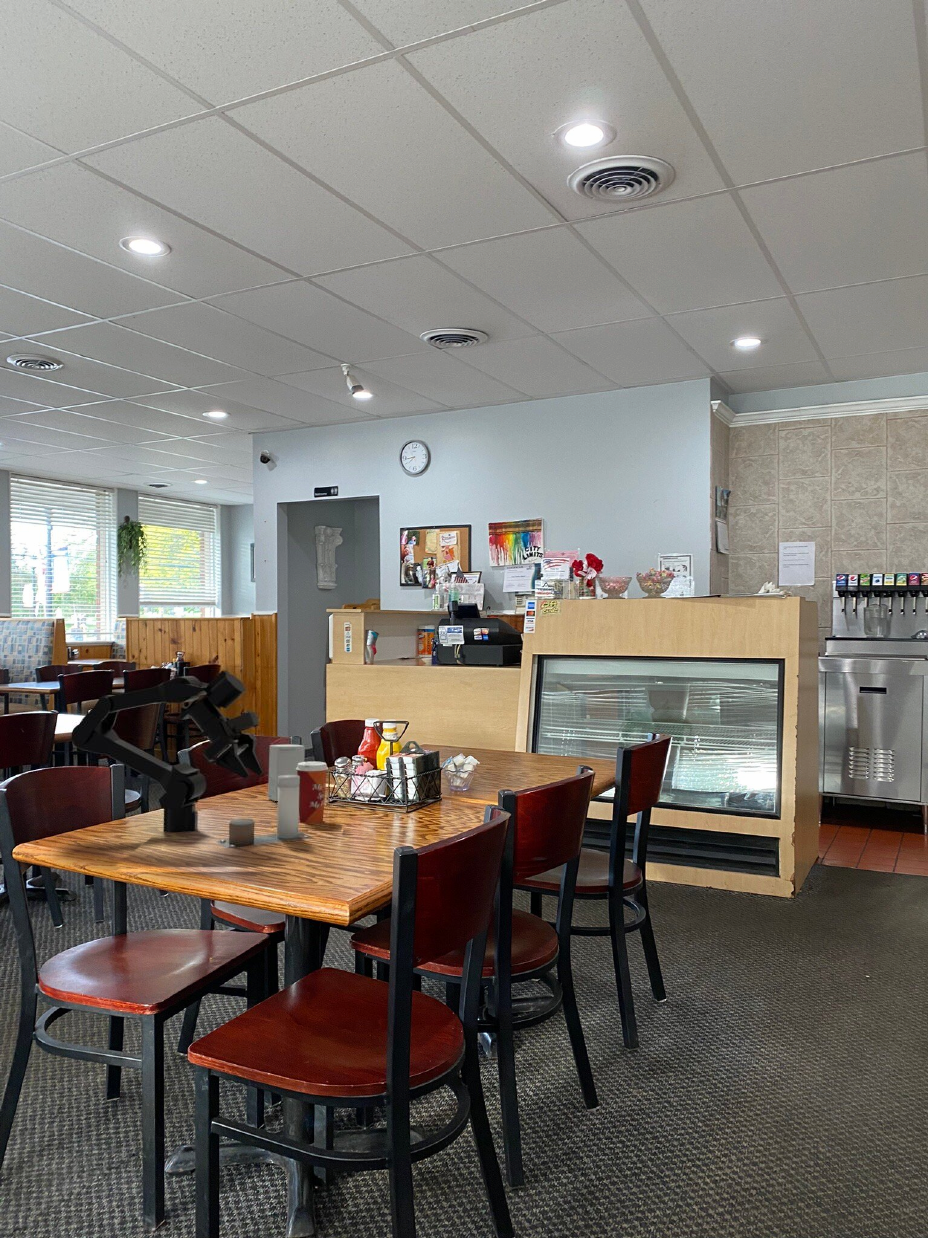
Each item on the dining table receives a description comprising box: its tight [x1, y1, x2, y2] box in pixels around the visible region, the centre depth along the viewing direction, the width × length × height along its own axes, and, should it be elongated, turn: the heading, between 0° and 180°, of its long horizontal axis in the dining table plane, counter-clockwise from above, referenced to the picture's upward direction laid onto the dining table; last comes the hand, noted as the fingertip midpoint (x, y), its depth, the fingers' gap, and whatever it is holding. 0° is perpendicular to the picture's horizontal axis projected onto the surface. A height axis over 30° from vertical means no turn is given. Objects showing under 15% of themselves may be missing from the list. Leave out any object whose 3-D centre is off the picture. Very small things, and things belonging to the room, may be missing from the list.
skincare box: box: [267, 744, 306, 802], centre depth 244 cm, size 8×6×15 cm
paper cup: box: [296, 761, 329, 824], centre depth 215 cm, size 8×8×14 cm
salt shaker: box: [276, 775, 300, 839], centre depth 195 cm, size 5×5×13 cm
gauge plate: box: [215, 830, 314, 849], centre depth 191 cm, size 19×8×1 cm, turn 125°
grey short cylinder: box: [228, 817, 255, 845], centre depth 188 cm, size 5×5×4 cm
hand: (254, 775), depth 197 cm, fingers open, 9 cm apart
